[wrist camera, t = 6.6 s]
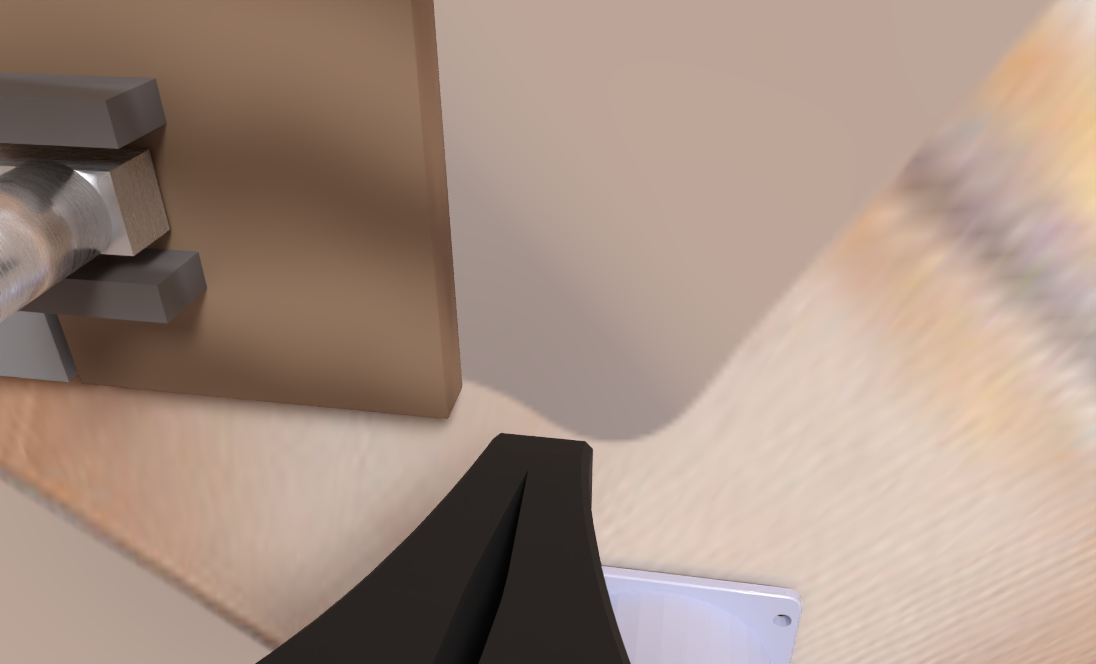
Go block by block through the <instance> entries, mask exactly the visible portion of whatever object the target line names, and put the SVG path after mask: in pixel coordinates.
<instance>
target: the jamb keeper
mask: <svg viewBox="0 0 1096 664" xmlns="http://www.w3.org/2000/svg"><path fill="white" fill-rule="evenodd" d="M77 375H78V371H77V368H76V365H75V363H74V360H73V357H72V354H71V351H70V349H69V346H68V343H67V340H66V337H65V335H64V332H63V329H62V326H61V323H60V321H59V318H58V315H57V314H49V313H37V312H25V311H17V312H15V313H14V314H12V315H11V316H9V317H8V318H7V319H5V320H4V321H2V322H1V323H0V376H9V377H19V378H30V379H40V380H50V381H61V382H70V381H71V380H72V379H74V378H75V377H76V376H77Z"/></svg>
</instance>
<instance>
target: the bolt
mask: <svg viewBox="0 0 1096 664" xmlns="http://www.w3.org/2000/svg"><path fill="white" fill-rule="evenodd" d="M169 230H170V227H169V224H168V220H167V216H166V212H165V208H164V204H163V201H162V197H161V193H160V189H159V185H158V182H157V178H156V174H155V170H154V166H153V162H152V159H151V155H150V151H149V149H134V148H119V149H113V148H93V147H74V146H54V145H34V144H14V143H0V323H1V322H2V321H4V320H5V319H7V318H8V317H9V316H11V315H12V314H14V313H15V312H17V311H18V310H20V309H21V308H22V307H24V306H25V305H27V304H28V303H30V302H31V301H33V300H34V299H36V298H37V297H38V296H40V295H41V294H43V293H44V292H46V291H47V290H49V289H50V288H51V287H53V286H54V285H56V284H57V283H59V282H60V281H62V280H63V279H64V278H66V277H67V276H69V275H70V274H72V273H73V272H75V271H76V270H78V269H79V268H80V267H82V266H83V265H85V264H86V263H88V262H89V261H91V260H92V259H93V258H95V257H96V256H98V255H99V254H109V255H124V256H135V255H136V254H137V253H139V252H140V251H141V250H143V249H144V248H146V247H147V246H148V245H150V244H151V243H152V242H154V241H155V240H156V239H158V238H159V237H161V236H162V235H163V234H165V233H166V232H167V231H169Z"/></svg>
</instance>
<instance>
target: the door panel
mask: <svg viewBox="0 0 1096 664" xmlns="http://www.w3.org/2000/svg"><path fill="white" fill-rule="evenodd" d="M0 143H14V144H34V145H54V146H74V147H93V148H113V149H119V148H134V149H149V151H150V155H151V159H152V162H153V166H154V170H155V174H156V178H157V182H158V185H159V189H160V193H161V197H162V201H163V204H164V208H165V212H166V216H167V220H168V224H169V227H170V230H169V231H167V232H166V233H165V234H163V235H162V236H161V237H159V238H158V239H156V240H155V241H154V242H152V243H151V244H150V245H148V246H147V247H146V248H144V249H143V250H141V251H140V252H139V253H137V254H136V255H135V256H124V255H109V254H99V255H98V256H96V257H95V258H93V259H92V260H91V261H89V262H88V263H86V264H85V265H83V266H82V267H80V268H79V269H78V270H76V271H75V272H73V273H72V274H70V275H69V276H67V277H66V278H64V279H63V280H62V281H60V282H59V283H57V284H56V285H54V286H53V287H51V288H50V289H49V290H47V291H46V292H44V293H43V294H41V295H40V296H38V297H37V298H36V299H34V300H33V301H31V302H30V303H28V304H27V305H25V306H24V307H22V308H21V309H20V310H18V311H25V312H37V313H49V314H57V315H58V318H59V321H60V323H61V326H62V329H63V332H64V335H65V337H66V340H67V343H68V346H69V349H70V351H71V354H72V357H73V360H74V363H75V365H76V368H77V371H78V374H79V377H80V379H81V382H82V384H92V385H102V386H112V387H123V388H133V389H143V390H154V391H164V392H174V393H185V394H195V395H205V396H216V397H226V398H236V399H247V400H257V401H268V402H278V403H288V404H299V405H309V406H319V407H330V408H340V409H350V410H361V411H371V412H381V413H392V414H402V415H412V416H423V417H433V418H443V419H448V417H449V415H450V413H451V410H452V408H453V406H454V404H455V402H456V399H457V397H458V395H459V393H460V391H461V388H462V377H461V364H460V351H459V337H458V324H457V310H456V297H455V284H454V272H453V271H454V270H453V259H452V258H453V257H452V244H451V230H450V217H449V204H448V190H447V177H446V164H445V150H444V137H443V124H442V111H441V98H440V85H439V71H438V57H437V44H436V30H435V17H434V4H433V0H0Z"/></svg>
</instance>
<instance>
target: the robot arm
mask: <svg viewBox="0 0 1096 664" xmlns="http://www.w3.org/2000/svg"><path fill="white" fill-rule="evenodd" d="M592 461H593V449H592V448H591V447H590V446H589V445H588V444H587V443H586V442H585V441H576V440H566V439H556V438H546V437H535V436H525V435H515V434H505V433H500V434H499V435H498V436H496V437H495V438H494V439H493V440H492V441H491V442H490V444H489V445H488V446H487V448H486V449H485V450H484V451H483V453H482V454H481V455H480V456H479V458H478V459H477V460H476V461H475V463H474V464H473V465H472V466H471V468H470V469H469V470H468V471H467V472H466V474H465V475H464V476H463V477H462V478H461V479H460V481H459V482H458V483H457V484H456V485H455V486H454V488H453V489H452V490H451V491H450V492H449V493H448V495H447V496H446V497H445V498H444V499H443V500H442V501H441V502H440V503H439V504H438V505H437V507H436V508H435V509H434V510H433V511H432V512H431V513H430V514H429V515H428V516H427V517H426V518H425V520H424V521H423V522H422V523H421V524H420V525H419V526H418V527H417V528H416V529H415V530H414V531H413V532H412V533H411V534H410V535H409V536H408V537H407V538H406V539H405V540H404V541H403V542H402V543H401V544H400V545H399V546H398V547H397V548H396V549H395V550H394V551H393V552H392V553H391V554H390V555H389V556H388V557H387V558H386V559H385V560H384V561H383V562H381V563H380V564H379V565H378V566H377V567H376V568H375V569H374V570H373V571H372V572H371V573H370V574H369V575H368V576H367V577H365V578H364V579H363V580H362V581H361V582H360V583H359V584H358V585H356V586H355V587H354V588H353V589H352V590H351V591H350V592H348V593H347V594H346V595H345V596H344V597H343V598H341V599H340V600H339V601H338V602H337V603H335V604H334V605H333V606H332V607H330V608H329V609H328V610H327V611H325V612H324V613H323V614H322V615H321V616H319V617H318V618H317V619H316V620H314V621H313V622H312V623H310V624H309V625H308V626H306V627H305V628H304V629H302V630H301V631H300V632H298V633H297V634H296V635H294V636H293V637H292V638H290V639H289V640H288V641H286V642H285V643H284V644H282V645H281V646H280V647H278V648H277V649H275V650H274V651H273V652H271V653H270V654H269V655H267V656H266V657H264V658H263V659H261V660H260V661H258V662H257V663H256V664H791V659H792V654H793V650H794V645H795V640H796V636H797V631H798V626H799V622H800V617H801V612H802V605H801V597H800V596H799V594H798V593H797V592H795V591H794V590H792V589H788V588H782V587H774V586H765V585H757V584H749V583H740V582H732V581H724V580H715V579H707V578H699V577H690V576H682V575H674V574H666V573H657V572H649V571H641V570H632V569H624V568H616V567H607V566H601V561H600V557H599V552H598V546H597V541H596V536H595V530H594V525H593V518H592V511H591V504H592ZM783 614H784V615H786V616H778V615H783Z"/></svg>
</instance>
